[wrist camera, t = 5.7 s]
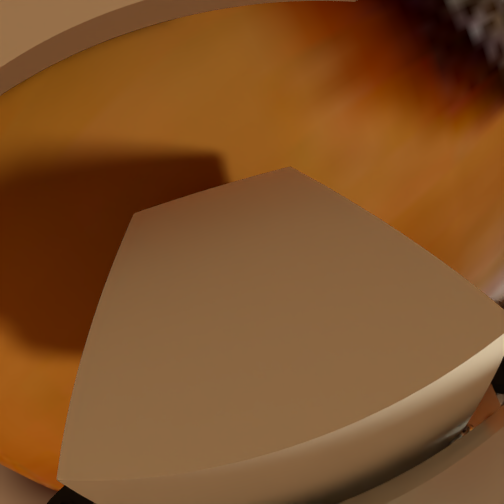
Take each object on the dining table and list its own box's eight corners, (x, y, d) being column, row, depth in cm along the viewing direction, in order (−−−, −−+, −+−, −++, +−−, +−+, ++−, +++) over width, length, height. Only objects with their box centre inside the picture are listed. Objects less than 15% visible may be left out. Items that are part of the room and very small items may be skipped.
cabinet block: (290, 166, 9) (518, 321, 2) (319, 347, 13) (405, 503, 6) (126, 215, 9) (40, 478, 2) (205, 384, 13) (239, 559, 6)
